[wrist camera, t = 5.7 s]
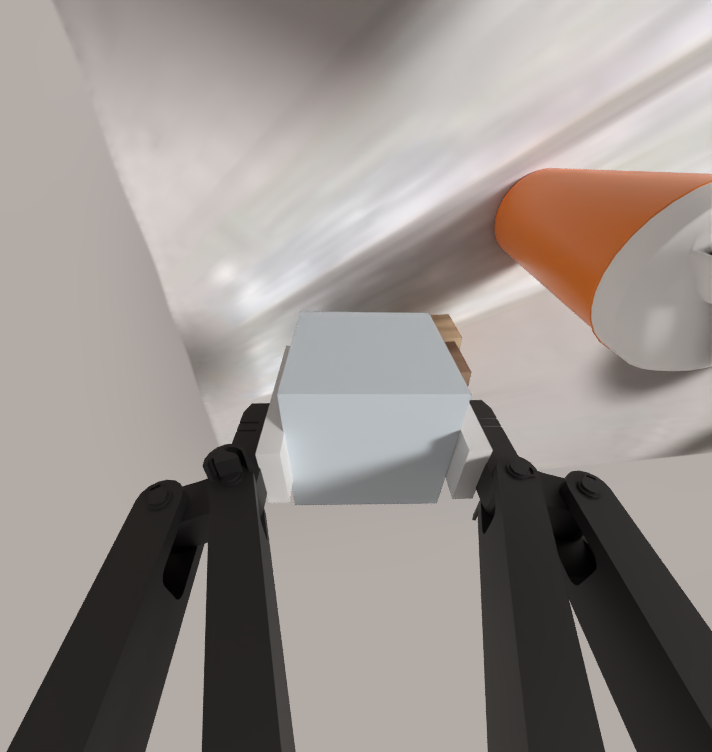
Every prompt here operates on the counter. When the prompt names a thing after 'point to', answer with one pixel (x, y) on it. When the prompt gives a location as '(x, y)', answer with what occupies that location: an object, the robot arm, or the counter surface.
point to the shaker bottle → (621, 256)
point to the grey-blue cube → (370, 408)
